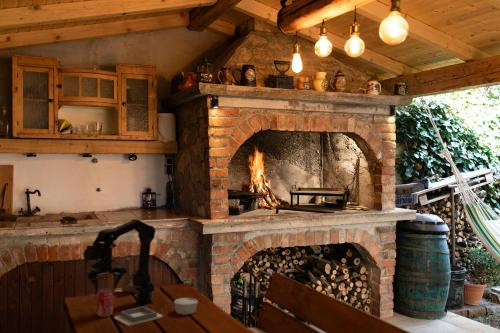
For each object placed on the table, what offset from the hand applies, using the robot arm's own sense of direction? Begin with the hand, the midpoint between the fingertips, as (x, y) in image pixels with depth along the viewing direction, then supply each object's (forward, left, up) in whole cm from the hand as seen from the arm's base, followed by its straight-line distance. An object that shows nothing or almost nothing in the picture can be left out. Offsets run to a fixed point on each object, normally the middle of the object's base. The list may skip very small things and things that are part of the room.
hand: (105, 290), depth 214 cm
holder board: (-10, +14, -12) cm, 20 cm away
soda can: (0, 0, -12) cm, 12 cm away
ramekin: (-32, +20, -12) cm, 40 cm away
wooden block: (-29, -27, -12) cm, 41 cm away
